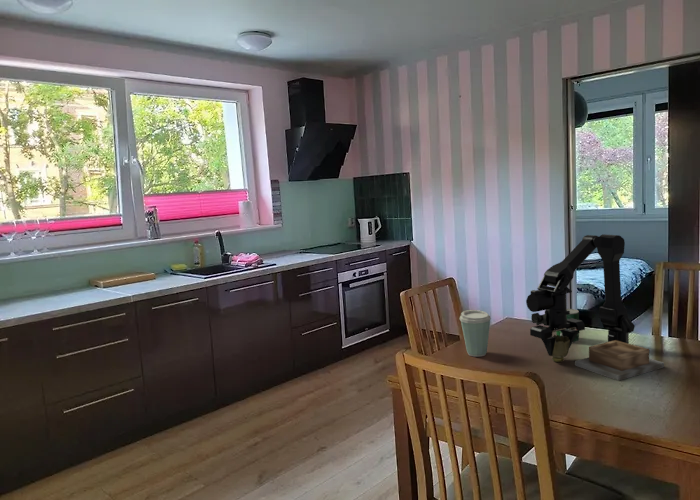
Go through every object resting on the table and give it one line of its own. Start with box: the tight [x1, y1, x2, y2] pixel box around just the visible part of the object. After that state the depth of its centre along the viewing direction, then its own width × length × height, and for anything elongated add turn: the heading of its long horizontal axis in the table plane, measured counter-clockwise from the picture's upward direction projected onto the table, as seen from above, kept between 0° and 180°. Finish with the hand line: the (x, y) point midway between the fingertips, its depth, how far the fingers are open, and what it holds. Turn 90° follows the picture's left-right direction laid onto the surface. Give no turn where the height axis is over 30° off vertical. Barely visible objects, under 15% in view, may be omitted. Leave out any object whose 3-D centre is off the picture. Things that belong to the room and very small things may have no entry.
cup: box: [551, 334, 570, 363], centre depth 176 cm, size 8×7×8 cm
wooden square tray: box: [574, 340, 665, 382], centre depth 167 cm, size 20×16×6 cm
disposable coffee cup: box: [458, 309, 492, 358], centre depth 187 cm, size 11×11×15 cm
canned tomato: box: [555, 308, 580, 344], centre depth 197 cm, size 8×8×11 cm
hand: (558, 353), depth 176 cm, fingers closed on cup, 6 cm apart
